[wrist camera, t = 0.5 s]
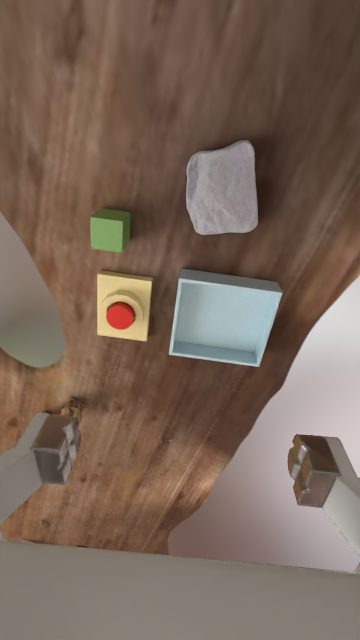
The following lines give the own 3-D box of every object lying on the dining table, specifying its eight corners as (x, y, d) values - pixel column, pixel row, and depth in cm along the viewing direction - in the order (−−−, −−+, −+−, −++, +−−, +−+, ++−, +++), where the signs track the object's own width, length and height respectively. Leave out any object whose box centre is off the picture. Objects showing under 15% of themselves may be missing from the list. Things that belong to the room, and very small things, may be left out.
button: (108, 300, 54) (106, 305, 53) (135, 303, 54) (133, 308, 53) (108, 322, 56) (105, 328, 55) (133, 326, 56) (131, 331, 55)
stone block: (197, 233, 52) (261, 225, 49) (190, 241, 48) (259, 234, 45) (184, 151, 47) (255, 137, 44) (175, 153, 43) (252, 138, 40)
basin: (180, 268, 54) (179, 278, 50) (277, 281, 54) (282, 292, 50) (170, 341, 61) (168, 354, 58) (255, 352, 62) (259, 366, 58)
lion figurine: (76, 383, 68) (60, 416, 60) (96, 398, 70) (83, 432, 62) (36, 415, 74) (17, 449, 66) (55, 428, 75) (38, 462, 68)
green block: (101, 207, 50) (90, 216, 44) (131, 212, 50) (123, 221, 45) (101, 236, 52) (90, 248, 47) (129, 240, 52) (121, 252, 47)
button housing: (100, 270, 55) (94, 278, 52) (153, 277, 55) (150, 286, 52) (100, 329, 61) (94, 340, 58) (147, 336, 61) (145, 347, 58)
